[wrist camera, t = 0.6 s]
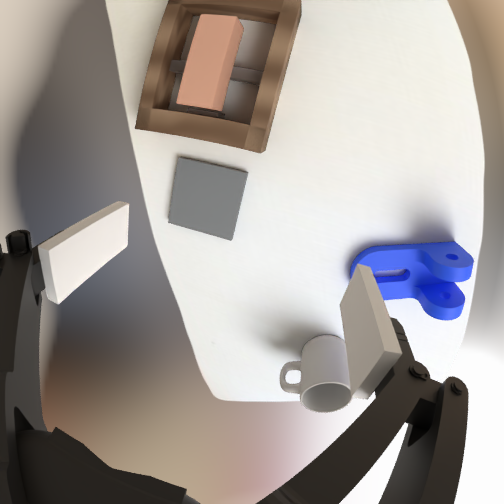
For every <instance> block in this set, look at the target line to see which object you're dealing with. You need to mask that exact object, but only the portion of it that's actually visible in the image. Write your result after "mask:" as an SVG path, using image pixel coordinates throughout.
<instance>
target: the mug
mask: <svg viewBox="0 0 504 504" xmlns="http://www.w3.org/2000/svg"><path fill="white" fill-rule="evenodd" d="M290 370H299V371H301V381H300V383H297V384H289V383H287V382H286V380H285V376H286V373H287V372H288V371H290ZM280 385H281V388H282V389H283V390H284V391H285V392H288V393H298V394H300V401H301V403H302V405H303V406H304V407H305V408H307V409H309V410H311V411H314V412H319V413H328V412H334V411H337V410H340V409H342V408H344V407H345V406H347V405H348V404H349V403H350V402H351V401H352V399H353V398H352V397H351V390H350V379H349V370H348V361H347V353H346V345H345V342H344V341H343V340H342V339H341V338H339V337H336V336H333V335H322V336H318V337H315V338H313V339H311V340H310V341H308V342H307V343H306V344H305V346H304V347H303V350H302V357H301V361H292V362H288V363H286V364H285V365H284V366H283V367H282V369H281V372H280Z"/></svg>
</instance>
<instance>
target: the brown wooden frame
mask: <svg viewBox="0 0 504 504" xmlns="http://www.w3.org/2000/svg"><path fill="white" fill-rule="evenodd" d="M201 14H211V15H225V16H236V17H237V18H238V19H244V20H252V21H259V22H266V23H272V24H277V25H276V29H275V32H274V36H273V39H272V43H271V46H270V50H269V54H268V57H267V61H266V65H265V68H264V72H263V71H258V70H253V69H247V68H241V67H235V66H233V70H232V73H231V77H230V80H233V81H239V82H244V83H250V84H255V85H260V87H259V91H258V95H257V98H256V102H255V106H254V110H253V114H252V118H251V122H250V125H249V124H244V123H240V122H235V121H230V120H225V119H220V118H224V116H225V114H221V113H216V112H210V111H205V110H199V109H192V108H188V111H187V112H188V113H185V112H178V111H171V110H168V108H169V104H170V99H171V95H172V90H173V86H174V82H175V78H176V74H183V73H184V69H185V65H186V62H187V61H182V60H180V59H181V55H182V52H183V48H184V45H185V42H186V38H187V35H188V32H189V28H190V25H191V22H192V19H193V16H200V15H201ZM300 18H301V0H169V1H168V4H167V7H166V10H165V12H164V15H163V18H162V21H161V24H160V27H159V30H158V34H157V37H156V40H155V44H154V47H153V51H152V54H151V58H150V62H149V65H148V69H147V73H146V77H145V82H144V86H143V90H142V95H141V100H140V104H139V109H138V115H137V120H136V126H135V129H140V130H147V131H153V132H160V133H166V134H172V135H178V136H183V137H189V138H194V139H199V140H204V141H209V142H214V143H219V144H223V145H228V146H232V147H236V148H241V149H245V150H249V151H253V152H257V153H262V152H264V151H265V149H266V146H267V142H268V138H269V134H270V130H271V126H272V122H273V119H274V115H275V111H276V107H277V103H278V100H279V96H280V92H281V88H282V84H283V81H284V77H285V73H286V69H287V66H288V62H289V58H290V55H291V51H292V47H293V44H294V40H295V36H296V33H297V29H298V25H299V22H300ZM191 113H195V114H191ZM197 114H201V115H197ZM203 115H207V116H203ZM209 116H212V117H209ZM215 117H218V118H215Z"/></svg>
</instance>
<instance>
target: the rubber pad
mask: <svg viewBox="0 0 504 504" xmlns="http://www.w3.org/2000/svg"><path fill="white" fill-rule="evenodd" d="M247 176H248V172H244V171H240V170H236V169H232V168H228V167H224V166H220V165H215V164H211V163H207V162H202V161H198V160H193V159H188V158H184V157H179V158H178V163H177V168H176V174H175V180H174V186H173V193H172V199H171V206H170V214H169V221H168V223H171V224H175V225H178V226H182V227H185V228H189V229H192V230H196V231H199V232H203V233H206V234H210V235H213V236H217V237H220V238H224V239H227V240H232V239H233V235H234V230H235V226H236V222H237V218H238V213H239V209H240V205H241V201H242V196H243V192H244V188H245V184H246V180H247Z"/></svg>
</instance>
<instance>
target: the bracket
mask: <svg viewBox="0 0 504 504" xmlns="http://www.w3.org/2000/svg"><path fill="white" fill-rule="evenodd" d="M473 263H474V260H473V258H472V256H471V255H470V254H469V253H467V252H466V251H465V250H464V249H463V248H462V247H461V246H460V245H458V244H457V243H456V242H455V241H454V242H437V243H420V244H402V245H385V246H373V247H370V248H367V249H365V250H364V251H362V252H361V253H360V254H359V255H358V256H357V257H356V258H355V260H354V261H353V263H352V266H351V270H350V277H351V278H352V276H353V273H354V271H355V268H356V266H357V264H361V265H365V266H368V267H370V268H371V270H372V273H373V274H374V273H375V272H377V271H383V270H397V269H406V272H405V273H404V274H403V275H398V276H385V277H374V278H375V280H376V282H377V285H378V287H379V290H380V293H381V295H382V298H383V300H391V299H402V298H415V299H417V300H418V301H419V302H420V304H421V306H422V308H423V309H424V311H425V312H426V313H427V314H428V315H430V316H431V317H433V318H436V319H440V320H453V319H456V318H458V317H459V316H460V315H461V313H462V310H463V306H464V302H465V296H464V294H463V292H462V291H461V290H460V289H459V287H458V286H457V285H456V284H455V283H454V282H463V281H466V280H468V279H469V278H470V277H471V273H472V268H473Z"/></svg>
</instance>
